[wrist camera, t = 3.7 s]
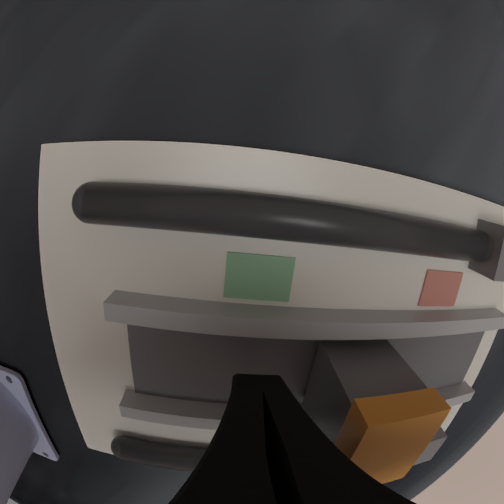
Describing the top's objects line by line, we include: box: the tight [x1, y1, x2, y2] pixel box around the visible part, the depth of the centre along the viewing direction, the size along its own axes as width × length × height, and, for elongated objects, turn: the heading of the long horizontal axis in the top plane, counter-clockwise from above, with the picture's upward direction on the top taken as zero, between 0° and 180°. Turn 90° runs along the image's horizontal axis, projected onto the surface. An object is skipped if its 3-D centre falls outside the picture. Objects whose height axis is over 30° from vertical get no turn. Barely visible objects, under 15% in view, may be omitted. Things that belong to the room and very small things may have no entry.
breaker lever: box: [303, 339, 451, 484], centre depth 8 cm, size 3×3×4 cm
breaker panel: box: [38, 141, 504, 471], centre depth 10 cm, size 20×14×3 cm
